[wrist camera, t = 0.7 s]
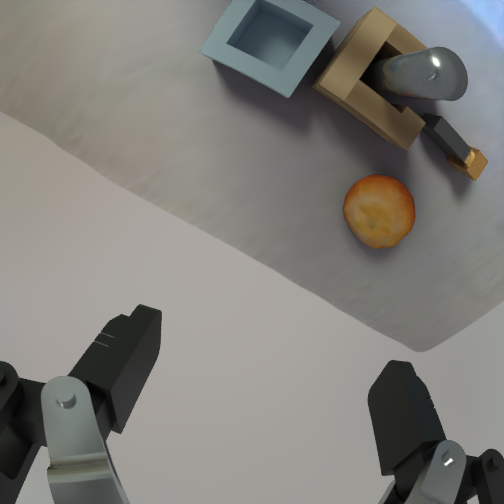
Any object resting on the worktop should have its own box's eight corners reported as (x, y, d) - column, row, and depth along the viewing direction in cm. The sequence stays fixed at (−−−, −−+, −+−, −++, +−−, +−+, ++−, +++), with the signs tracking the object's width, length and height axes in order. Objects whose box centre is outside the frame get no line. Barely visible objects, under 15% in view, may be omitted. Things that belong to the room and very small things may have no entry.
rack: (254, -5, 21) (250, -24, 17) (330, 34, 23) (341, 22, 18) (211, 59, 26) (198, 52, 21) (286, 98, 27) (288, 98, 23)
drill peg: (368, 57, 24) (437, 35, 11) (394, 77, 25) (475, 75, 12) (352, 81, 26) (413, 73, 13) (378, 101, 26) (452, 112, 13)
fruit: (421, 222, 31) (413, 260, 26) (363, 221, 36) (343, 256, 31) (414, 159, 28) (407, 185, 23) (351, 162, 33) (328, 188, 28)
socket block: (357, 20, 22) (374, 6, 17) (428, 76, 24) (455, 76, 19) (311, 86, 26) (319, 84, 21) (385, 140, 28) (406, 150, 23)
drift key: (427, 109, 26) (447, 112, 22) (467, 152, 27) (488, 161, 23) (414, 128, 27) (433, 134, 23) (455, 169, 29) (475, 181, 25)
